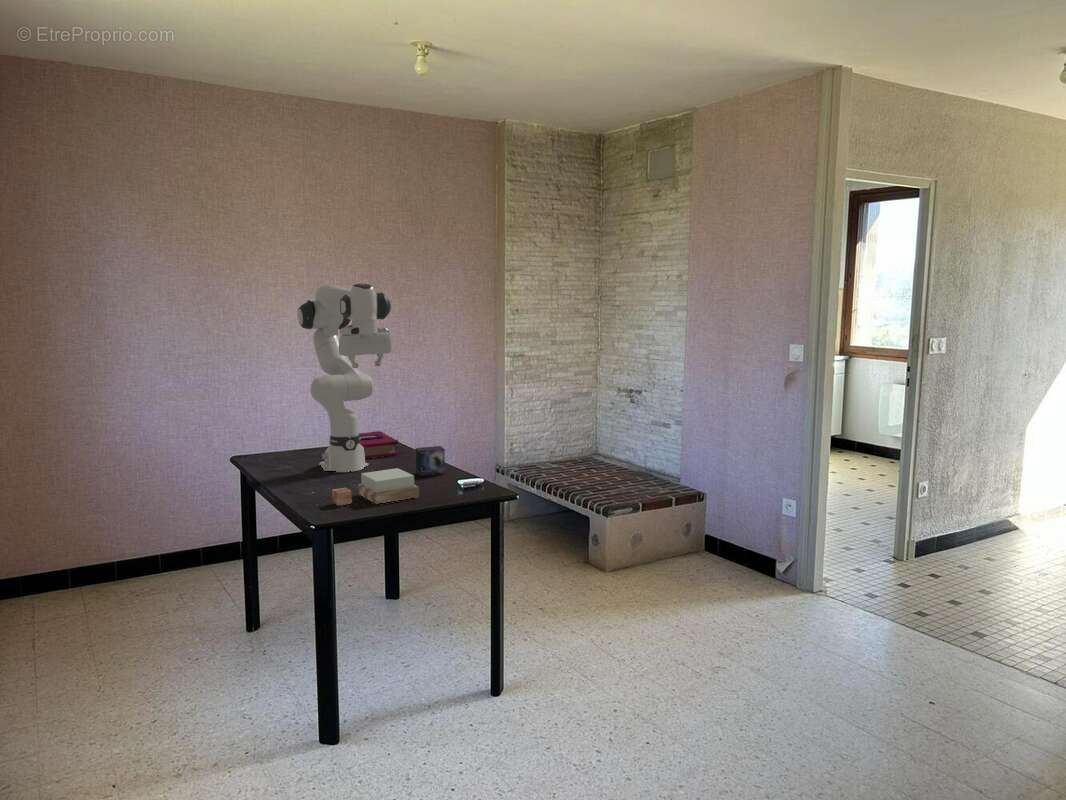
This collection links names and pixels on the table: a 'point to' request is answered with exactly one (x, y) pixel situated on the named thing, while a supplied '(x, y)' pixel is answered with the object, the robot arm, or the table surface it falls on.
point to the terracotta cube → (342, 496)
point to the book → (377, 444)
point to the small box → (430, 460)
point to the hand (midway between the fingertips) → (366, 367)
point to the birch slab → (388, 494)
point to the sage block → (387, 480)
